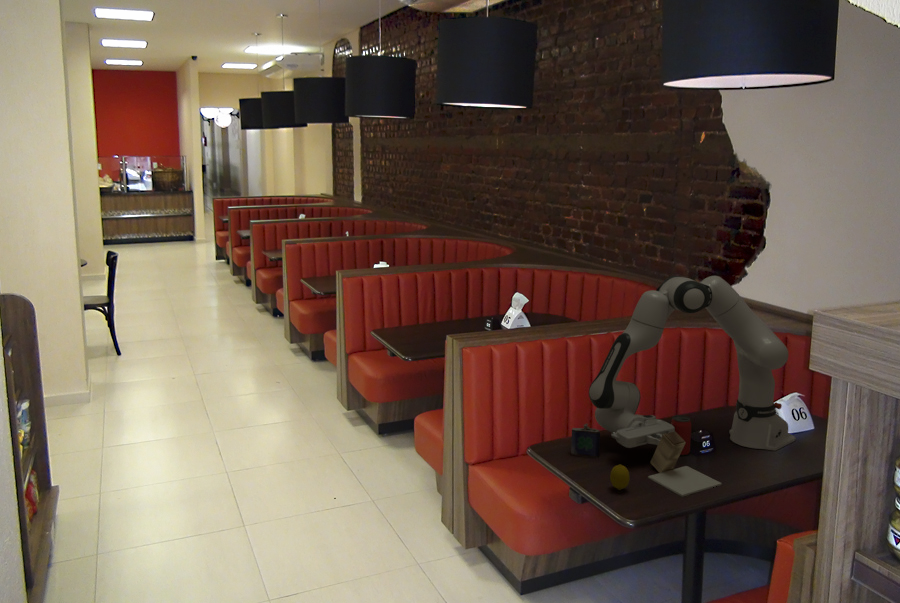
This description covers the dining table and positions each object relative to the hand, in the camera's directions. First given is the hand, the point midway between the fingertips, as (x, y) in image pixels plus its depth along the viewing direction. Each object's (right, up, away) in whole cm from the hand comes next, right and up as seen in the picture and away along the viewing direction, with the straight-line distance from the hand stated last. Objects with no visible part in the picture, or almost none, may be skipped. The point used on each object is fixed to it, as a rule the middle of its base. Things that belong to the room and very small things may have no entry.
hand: (663, 442), depth 222 cm
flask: (-22, -7, +13) cm, 26 cm away
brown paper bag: (0, -8, +2) cm, 8 cm away
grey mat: (+4, -10, -7) cm, 13 cm away
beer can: (+10, -6, +15) cm, 19 cm away
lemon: (-17, -12, -12) cm, 23 cm away
